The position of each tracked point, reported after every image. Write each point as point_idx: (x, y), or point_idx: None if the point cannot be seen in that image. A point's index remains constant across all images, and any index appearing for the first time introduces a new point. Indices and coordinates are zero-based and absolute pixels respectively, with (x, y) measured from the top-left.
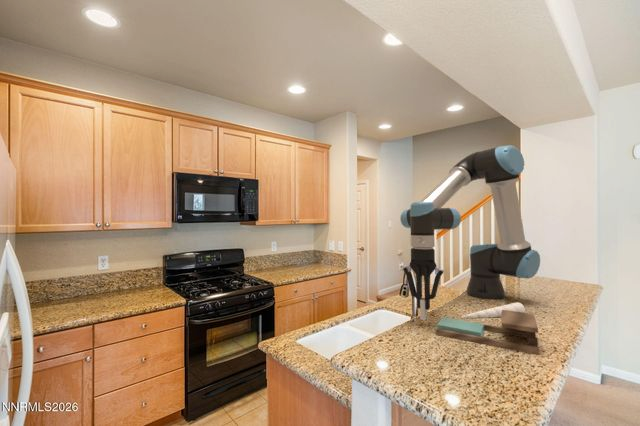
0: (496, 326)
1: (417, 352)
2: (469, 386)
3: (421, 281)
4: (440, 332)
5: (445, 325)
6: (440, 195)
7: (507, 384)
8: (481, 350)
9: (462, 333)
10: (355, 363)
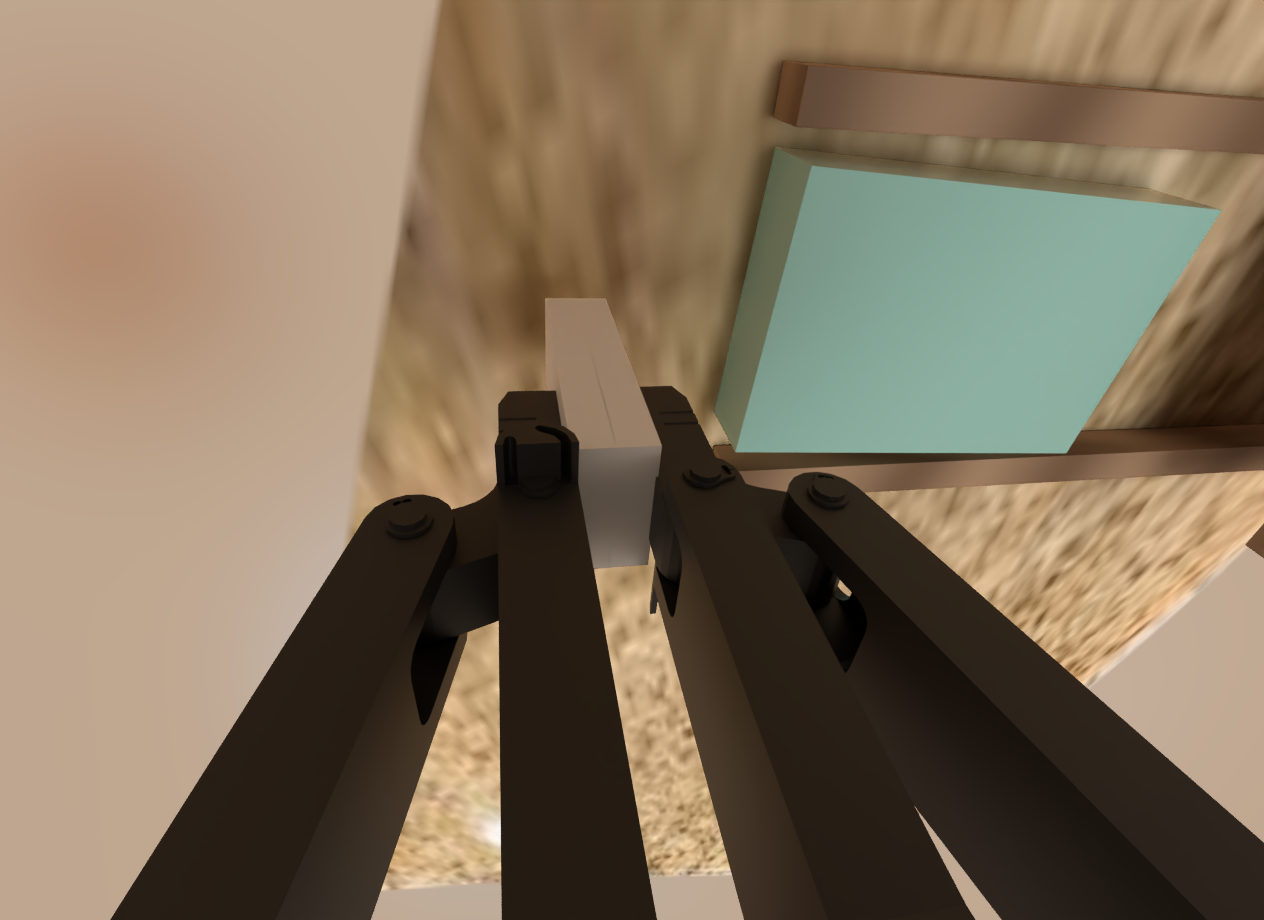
0: None
1: (625, 714)
2: None
3: (635, 850)
4: None
5: (810, 438)
6: None
7: None
8: (965, 545)
9: (920, 469)
10: (411, 873)
